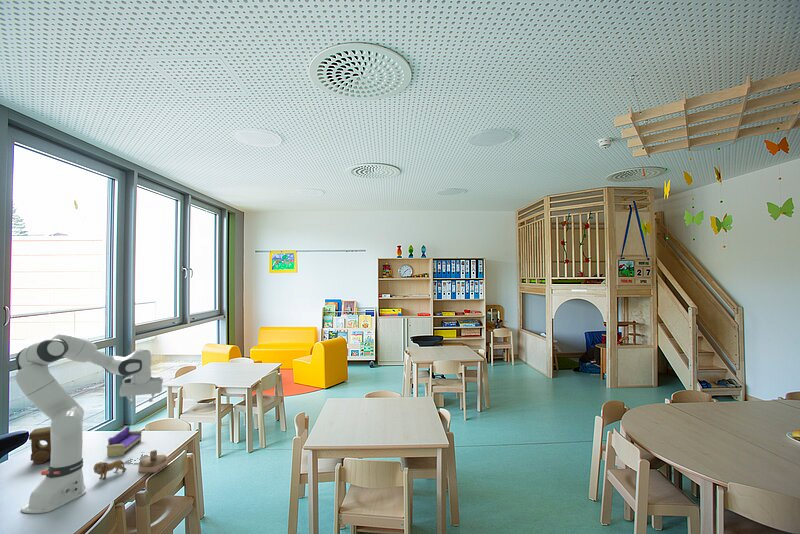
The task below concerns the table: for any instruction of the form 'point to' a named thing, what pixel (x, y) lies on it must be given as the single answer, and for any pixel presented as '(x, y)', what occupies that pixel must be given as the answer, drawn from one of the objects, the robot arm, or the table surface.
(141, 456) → the mat
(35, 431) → the wooden toy train
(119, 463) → the lion figurine
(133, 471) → the table surface
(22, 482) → the table surface
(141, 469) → the open box
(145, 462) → the lid
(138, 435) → the toy sofa
